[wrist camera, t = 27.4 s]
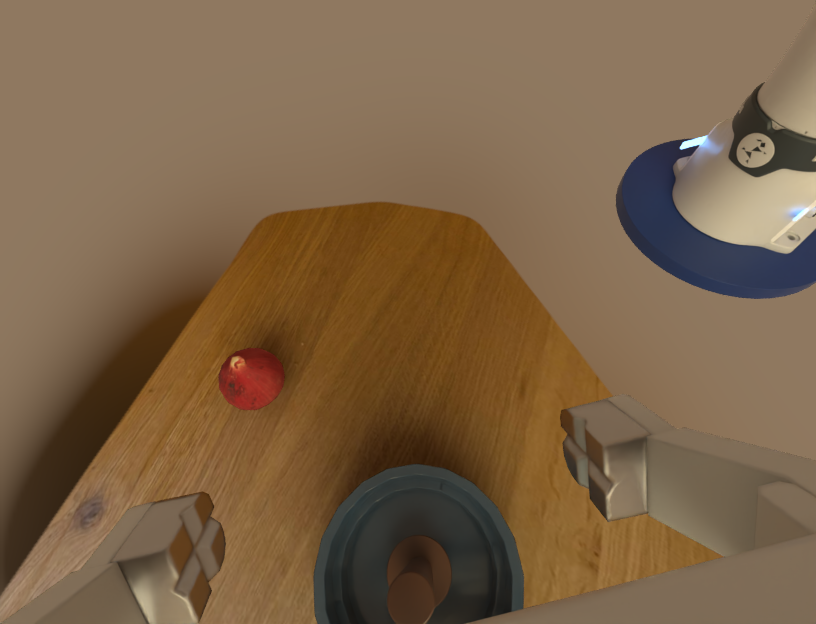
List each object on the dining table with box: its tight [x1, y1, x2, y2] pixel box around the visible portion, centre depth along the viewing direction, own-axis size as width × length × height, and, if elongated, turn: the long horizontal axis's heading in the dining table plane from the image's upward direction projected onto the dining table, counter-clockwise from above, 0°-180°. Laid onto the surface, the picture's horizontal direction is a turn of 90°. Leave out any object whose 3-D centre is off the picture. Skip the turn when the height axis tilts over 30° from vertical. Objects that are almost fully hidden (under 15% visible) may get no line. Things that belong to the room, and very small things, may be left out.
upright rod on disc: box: [387, 535, 452, 624], centre depth 25 cm, size 5×5×18 cm
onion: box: [219, 348, 285, 410], centre depth 38 cm, size 6×6×8 cm
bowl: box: [314, 464, 524, 624], centre depth 30 cm, size 15×15×6 cm
